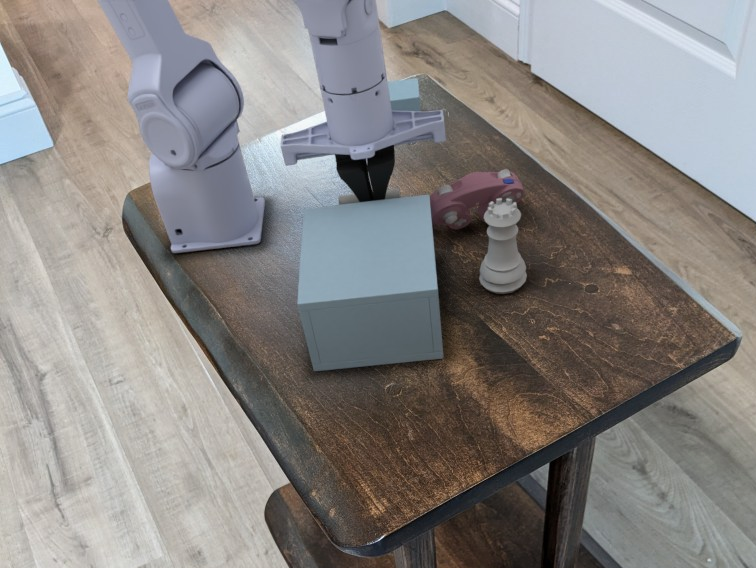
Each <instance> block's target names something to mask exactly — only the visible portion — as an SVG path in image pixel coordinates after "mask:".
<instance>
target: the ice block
mask: <svg viewBox="0 0 756 568" xmlns="http://www.w3.org/2000/svg"><path fill="white" fill-rule="evenodd" d="M387 82H388V89H389V95H390V102H391V109H392V111H422V109H421V97H420V86H419V85H420V84H419V77H413V78H407V79H397V80H390V81H387Z"/></svg>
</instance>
